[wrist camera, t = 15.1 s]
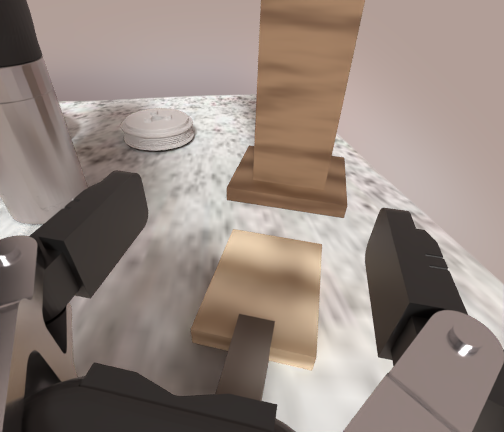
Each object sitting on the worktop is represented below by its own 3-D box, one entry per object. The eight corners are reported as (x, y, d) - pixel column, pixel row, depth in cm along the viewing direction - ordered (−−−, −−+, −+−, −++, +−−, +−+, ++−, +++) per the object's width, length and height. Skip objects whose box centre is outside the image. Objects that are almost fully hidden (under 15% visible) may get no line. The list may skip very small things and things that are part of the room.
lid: (203, 147, 56) (202, 121, 53) (132, 161, 51) (126, 132, 48) (182, 124, 65) (179, 100, 62) (119, 133, 60) (113, 107, 56)
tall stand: (343, 217, 40) (448, -154, 21) (226, 199, 42) (221, -150, 23) (341, 168, 51) (408, -106, 32) (248, 156, 53) (257, -106, 34)
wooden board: (295, 650, 14) (303, 654, 12) (98, 576, 15) (83, 572, 14) (318, 257, 34) (322, 240, 33) (233, 242, 36) (233, 225, 34)
